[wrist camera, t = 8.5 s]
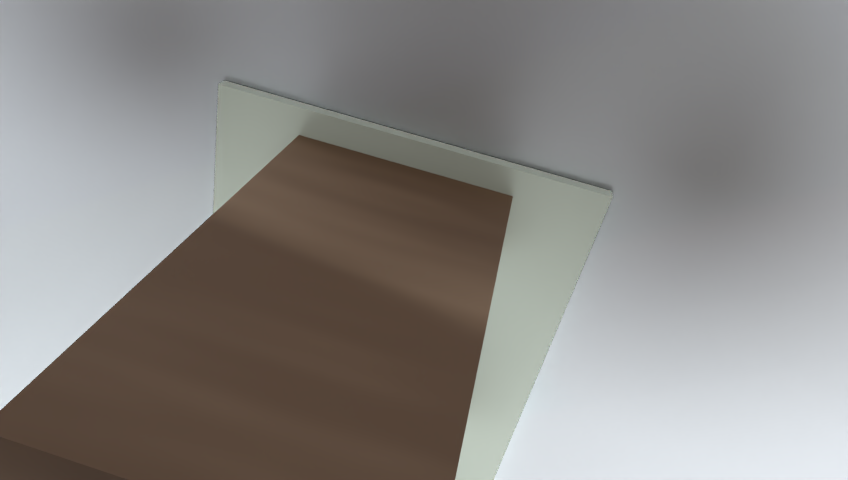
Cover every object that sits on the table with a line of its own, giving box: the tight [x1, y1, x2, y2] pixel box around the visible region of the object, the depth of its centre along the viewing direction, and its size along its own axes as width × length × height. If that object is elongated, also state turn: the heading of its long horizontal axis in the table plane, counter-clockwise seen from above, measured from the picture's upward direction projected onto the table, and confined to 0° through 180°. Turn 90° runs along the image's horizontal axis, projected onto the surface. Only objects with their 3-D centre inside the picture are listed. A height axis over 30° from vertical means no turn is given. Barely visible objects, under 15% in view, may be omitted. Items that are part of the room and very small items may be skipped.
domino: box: [0, 135, 513, 480], centre depth 11 cm, size 2×5×9 cm, turn 79°
